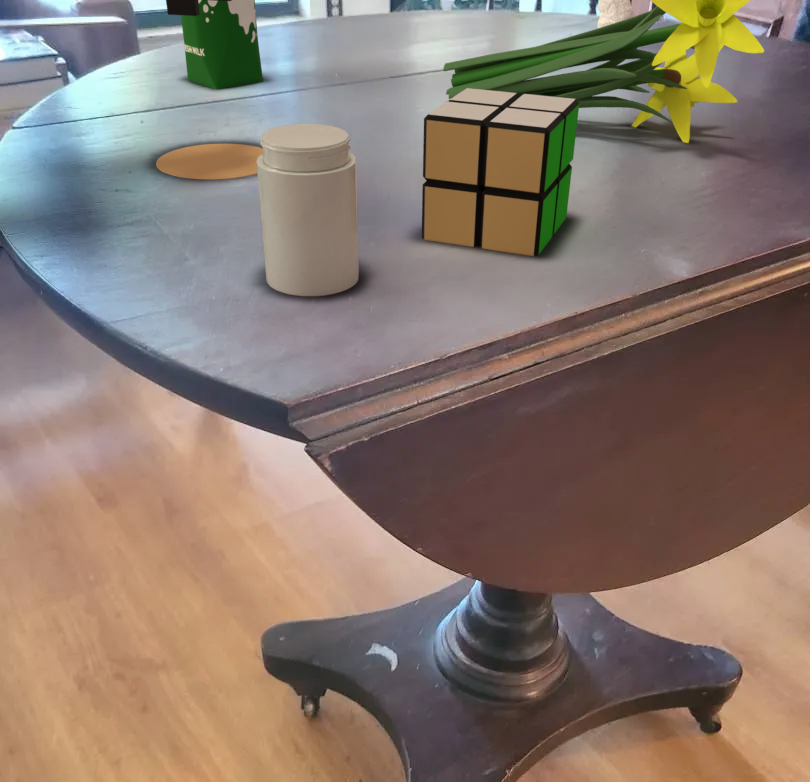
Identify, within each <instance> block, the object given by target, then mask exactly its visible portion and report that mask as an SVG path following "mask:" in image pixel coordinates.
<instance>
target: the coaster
mask: <svg viewBox="0 0 810 782" xmlns="http://www.w3.org/2000/svg"><path fill="white" fill-rule="evenodd" d="M261 154H263V149H262V147H259V146H255V145H250V144H249V145H248V144H242V143H240V144H239V143H207V144H205V143H204V144H198V145H197V144H196V145H190V146H186V147H181V148H178V149H174V150H171V151H169V152H166V153H164V154H162V155H161V156H160V157H158V159H157V160H156V164H155V165H156V168H157V169H158V170H159V171H160V172H162V173H164V174H167V175H170V176H174V177H178V178H183V179H191V180H227V179H237V178H238V179H239V178H244V177H248V176H253V175H257V164H256V160H257V158H258V157H259V156H260V155H261Z"/></svg>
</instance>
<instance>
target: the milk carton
mask: <svg viewBox="0 0 810 782" xmlns="http://www.w3.org/2000/svg"><path fill="white" fill-rule="evenodd" d="M198 3H199V11H200V15H198V16H188V15H180V20H181V28H182V35H183V44H184V53H185V56H184V57H185V64H186V75H187V76H186V77H187V81H189V82H192V83H195V84H198V85H200V86H201V85H202V86H204V87H208V88H210V89H213V90H222V89H228V88H229V89H230V88H234V87H239V86H247V85H251V84H256V83H262V82H264V78H263V77H264V76H263V69H262V62H261V53H260V46H259V36H258V25H257V12H256V11H257V10H256V0H232V1H212V0H198Z"/></svg>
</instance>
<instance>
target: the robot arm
mask: <svg viewBox="0 0 810 782" xmlns="http://www.w3.org/2000/svg"><path fill="white" fill-rule="evenodd" d="M212 1H232V0H212ZM165 4H166V12H167V15H169V16H174V15H175V16H181V15H188V16H198V15H200V11H199V3H198V0H165Z"/></svg>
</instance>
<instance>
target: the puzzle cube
mask: <svg viewBox="0 0 810 782" xmlns="http://www.w3.org/2000/svg"><path fill="white" fill-rule="evenodd" d="M579 109H580V108H579V102H578V101H577V100H576V99H571V98H561V97H551V96H541V95H532V94H523V95H522V96H521V97H519V95H518V94H517V93H511V92H501V91H491V90H481V89H472V88H466V89H465V90H463V91H462V92H460V93H459V94H457V95H456V96H454V97H453V98H451V99H448V100H447V101H446V102H444V103H443V104H441V105H439V106H438V107H436V108H435V109H434V110H432V111H431V112H429V113H428V114H427V115H426V116H425V117H424V118H423V146H422V147H423V151H422V177H423V178H424V180H425V182H424V183H422V191H421V193H422V196H421V198H422V200H421V239H423V240H424V241H431V242H436V243H443V244H450V245H456V246H464V247H470V248H476V247H477V248H478V247H479V248H481V249H482V250H483V249H484V250H490V251H495V252H496V251H497V252H503V253H509V254H517V255H523V256H530V257H537V256H540V254H541V253H542V251H543V250H544V249H545V248H546V246H547V245H548V244H549V242H550V241H551V239H552V238H553V236H554V235H555V234H556V233H557V231H558V230H559V228H560V227H561V226H562V224H563V223H564V222H565V220H566V219H567V216H568V207H569V196H570V189H571V181H572V179H571V178H572V172H573V171H572V170H573V166H572V165H571V162H572V161H573V160H574V153H575V144H576V138H577V137H576V136H577V128H578V118H579V111H580V110H579Z"/></svg>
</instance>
